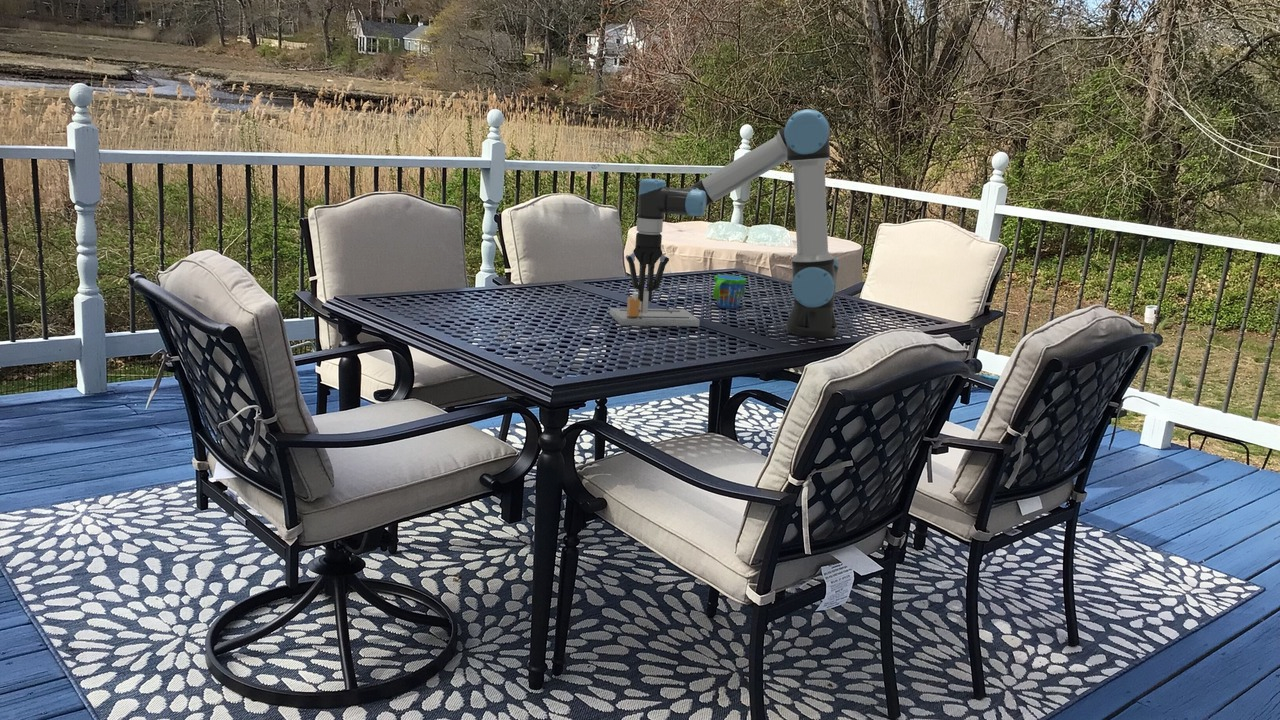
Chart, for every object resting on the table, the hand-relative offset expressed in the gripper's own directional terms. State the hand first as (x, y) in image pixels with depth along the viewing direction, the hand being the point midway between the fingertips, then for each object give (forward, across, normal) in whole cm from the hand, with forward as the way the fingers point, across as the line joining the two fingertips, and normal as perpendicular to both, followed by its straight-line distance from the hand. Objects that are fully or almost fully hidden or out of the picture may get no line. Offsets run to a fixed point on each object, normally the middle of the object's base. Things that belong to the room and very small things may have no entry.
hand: (643, 312), depth 291 cm
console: (+4, -4, -5) cm, 8 cm away
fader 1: (+1, 0, -10) cm, 10 cm away
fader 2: (+1, +3, 0) cm, 4 cm away
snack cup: (+4, -36, -28) cm, 46 cm away
